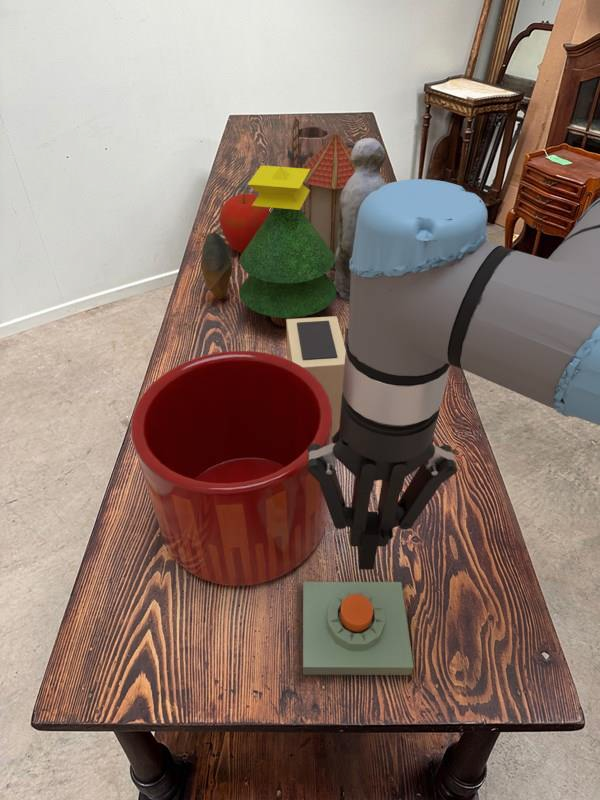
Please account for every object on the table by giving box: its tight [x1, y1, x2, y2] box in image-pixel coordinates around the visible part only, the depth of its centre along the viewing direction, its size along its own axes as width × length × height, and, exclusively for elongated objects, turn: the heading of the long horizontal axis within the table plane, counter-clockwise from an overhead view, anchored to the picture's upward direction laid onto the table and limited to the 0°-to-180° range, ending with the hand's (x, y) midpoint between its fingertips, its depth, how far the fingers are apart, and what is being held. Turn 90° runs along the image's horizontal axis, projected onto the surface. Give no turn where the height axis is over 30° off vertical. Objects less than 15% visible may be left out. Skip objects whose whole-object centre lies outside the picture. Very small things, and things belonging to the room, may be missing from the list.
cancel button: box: [340, 594, 373, 632], centre depth 60 cm, size 4×4×2 cm
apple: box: [218, 192, 271, 254], centre depth 127 cm, size 12×12×14 cm
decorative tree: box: [239, 165, 337, 328], centre depth 101 cm, size 19×19×30 cm
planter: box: [130, 350, 333, 587], centre depth 69 cm, size 23×23×20 cm
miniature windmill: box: [292, 117, 355, 271], centre depth 121 cm, size 24×20×30 cm
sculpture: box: [333, 137, 387, 301], centre depth 109 cm, size 11×14×30 cm
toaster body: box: [286, 315, 346, 438], centre depth 85 cm, size 8×12×15 cm, turn 6°
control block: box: [302, 581, 414, 676], centre depth 62 cm, size 12×10×4 cm
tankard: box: [287, 125, 356, 214], centre depth 142 cm, size 24×17×20 cm
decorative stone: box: [200, 232, 233, 301], centre depth 111 cm, size 10×6×15 cm, turn 173°
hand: (365, 557), depth 57 cm, fingers closed
